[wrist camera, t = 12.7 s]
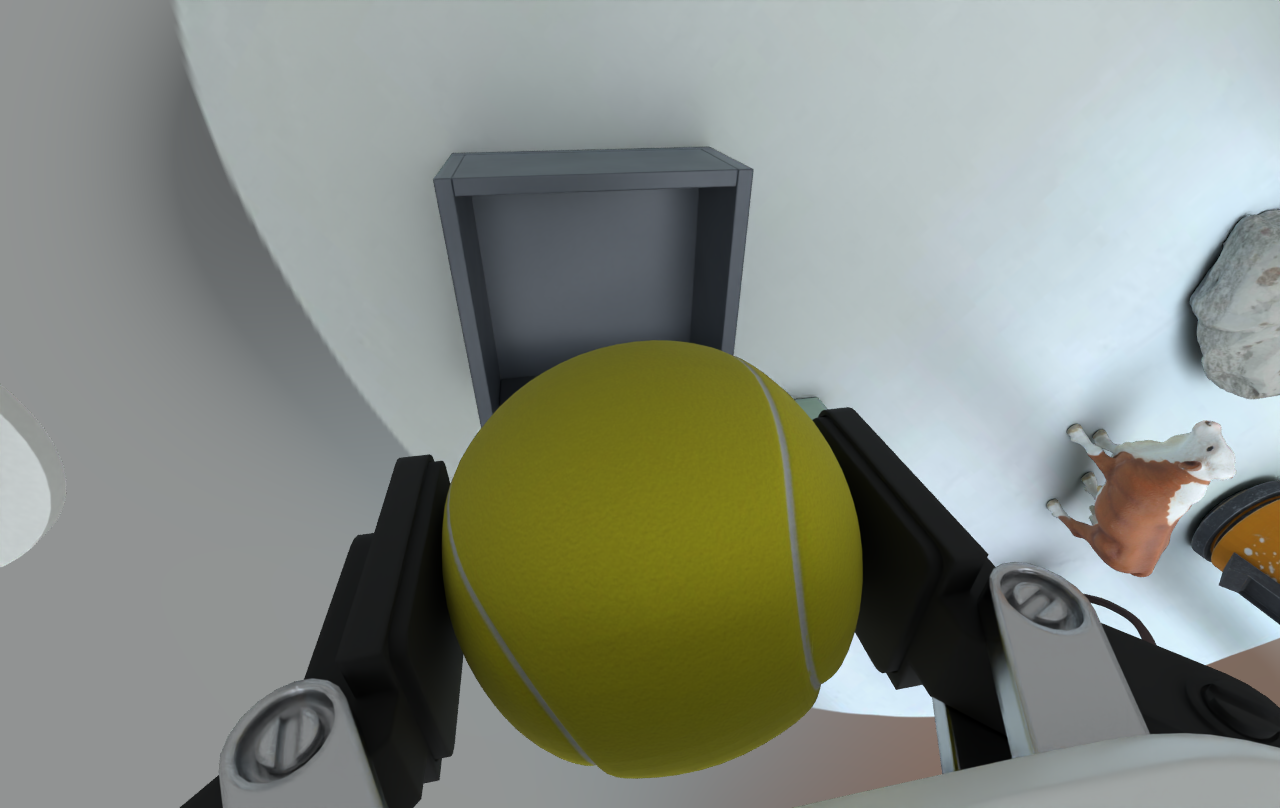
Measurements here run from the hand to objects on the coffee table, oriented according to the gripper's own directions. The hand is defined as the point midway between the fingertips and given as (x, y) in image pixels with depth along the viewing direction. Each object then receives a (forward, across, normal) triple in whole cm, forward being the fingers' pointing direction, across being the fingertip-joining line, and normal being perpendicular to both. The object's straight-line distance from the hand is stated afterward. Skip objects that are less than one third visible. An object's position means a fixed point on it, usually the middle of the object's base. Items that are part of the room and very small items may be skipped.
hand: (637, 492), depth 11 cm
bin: (+18, -1, +2) cm, 18 cm away
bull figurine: (+18, -37, +18) cm, 45 cm away
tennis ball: (+2, 0, 0) cm, 2 cm away
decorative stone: (+18, -43, +6) cm, 47 cm away
